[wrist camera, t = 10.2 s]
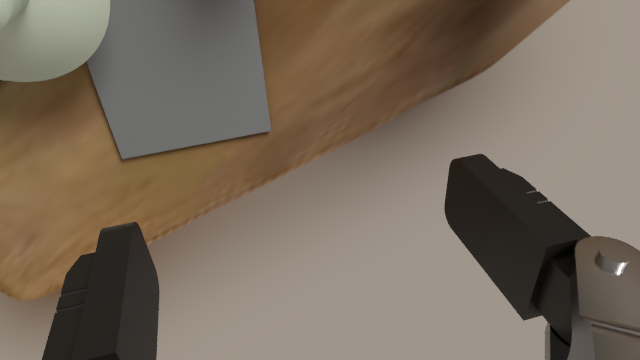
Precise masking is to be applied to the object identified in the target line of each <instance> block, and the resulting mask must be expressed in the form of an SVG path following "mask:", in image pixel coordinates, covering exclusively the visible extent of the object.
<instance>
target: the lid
mask: <svg viewBox="0 0 640 360" xmlns="http://www.w3.org/2000/svg"><path fill="white" fill-rule="evenodd" d="M110 13H111V0H0V80H4V81H13V82H36V81H44V80H49V79H54V78H57V77H60V76H62V75H65V74H67V73H69V72H71V71H73V70H75V69H76V68H78V67H79V66H81V65H82V64H83V63H85V62H86V61H87V60H88V59H89V58H90V57H91V56H92V55H93V54H94V52H95V51H96V49H97V48H98V47H99V45H100V43H101V41H102V39H103V37H104V35H105V32H106V29H107V26H108V23H109V18H110Z"/></svg>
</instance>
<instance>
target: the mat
mask: <svg viewBox="0 0 640 360" xmlns="http://www.w3.org/2000/svg"><path fill="white" fill-rule="evenodd" d="M86 63H87V65H88V68H89V71H90V73H91V76H92V79H93V81H94V84H95V87H96V90H97V92H98V95H99V98H100V100H101V103H102V106H103V109H104V111H105V114H106V117H107V119H108V122H109V125H110V128H111V130H112V133H113V136H114V138H115V141H116V144H117V147H118V149H119V152H120V155H121V157H122V159H126V158H131V157H136V156H142V155H147V154H152V153H157V152H163V151H168V150H173V149H178V148H184V147H189V146H194V145H199V144H205V143H210V142H215V141H220V140H226V139H231V138H236V137H241V136H247V135H252V134H257V133H262V132H268V131H271V124H270V117H269V109H268V102H267V95H266V87H265V80H264V73H263V65H262V58H261V50H260V43H259V36H258V28H257V21H256V14H255V6H254V0H111V13H110V18H109V23H108V26H107V29H106V32H105V35H104V37H103V39H102V41H101V43H100V45H99V47H98V48H97V49H96V51H95V52H94V54H93V55H92V56H91V57H90V58H89V59H88V60H87V61H86Z"/></svg>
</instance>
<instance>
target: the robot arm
mask: <svg viewBox="0 0 640 360" xmlns="http://www.w3.org/2000/svg"><path fill="white" fill-rule="evenodd" d="M445 215H446V219H447V221H448V224H449V225H450V227H451V229H452V230H453V231H454V232H455V234H456V235H457V236H458V237H459V239H460V240H461V241H462V243H463V244H464V245H465V246H466V248H467V249H468V250H469V251H470V253H471V254H472V255H473V257H474V258H475V259H476V260H477V262H478V263H479V264H480V266H481V267H482V268H483V269H484V270H485V272H486V273H487V274H488V276H489V277H490V278H491V279H492V281H493V282H494V283H495V285H496V286H497V287H498V288H499V290H500V291H501V292H502V293H503V295H504V296H505V297H506V299H507V300H508V301H509V302H510V304H511V305H512V306H513V308H514V309H515V310H516V311H517V313H518V314H519V315H520V316H521V318H522V319H523V320H527V319H531V318H534V317H538V316H541V315H542V316H543V317H544V318H545V319H546V320H547V322H548V323H547V326H546V328H545V360H640V251H639V250H638V249H636V248H634V247H633V246H631V245H629V244H627V243H625V242H623V241H620V240H617V239H614V238H609V237H603V236H593V237H591V236H590V235H589V234H588V233H587V232H585V231H584V230H583V229H582V228H581V227H580V226H578V225H577V224H576V223H575V222H574V221H573V220H571V219H570V218H569V217H568V216H567V215H566V214H564V213H563V212H562V211H561V210H560V209H559V208H557V207H556V206H555V205H554V204H553V203H552V202H551V201H550V202H548V200H547V198H546V197H545V196H543V195H542V194H541V193H540V192H537V191H536V189H535V188H534V187H533V186H532V185H531V184H530V183H529V182H527V181H526V180H525V179H524V178H523V177H521V176H519V175H517V174H514V173H512V172H510V171H508V170H506V169H504V168H503V169H499V168H498V167H497V166H496V165H495V164H494V163H493V162H491V161H490V160H489V159H488V158H487V157H486V156H485V155H483V154H477V155H473V156H467V157H462V158H458V159H454V160H452V162H451V164H450V168H449V175H448V183H447V191H446V198H445ZM56 310H57V313H55V315H54V319H53V323H52V326H51V330H50V333H49V336H48V340H47V344H46V347H45V350H44V354H43V357H42V360H156V353H157V331H158V310H159V283H158V277H157V273H156V269H155V266H154V264H153V261H152V258H151V255H150V253H149V250H148V248H147V245H146V242H145V240H144V237H143V234H142V232H141V229H140V227H139V225H138V224H137V223H136V222H133V223H128V224H123V225H118V226H113V227H108V228H103V229H101V231H100V234H99V239H98V243H97V248H96V252H95V253H90V254H85V255H81V256H80V257H79V258H78V260H77V261H76V262H75V264H74V265H73V266H72V267H71V269H70V270H69V271H68V272H67V274H66V277H65V280H64V284H63V287H62V291H61V297H60V298H59V301H58V305H57V308H56Z"/></svg>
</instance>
